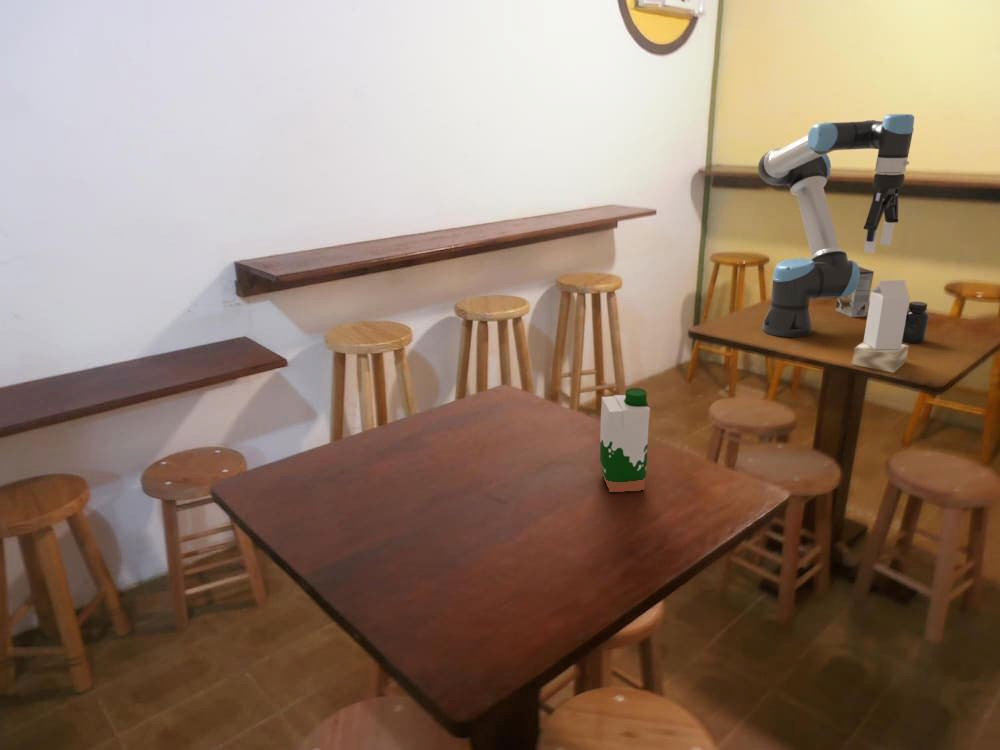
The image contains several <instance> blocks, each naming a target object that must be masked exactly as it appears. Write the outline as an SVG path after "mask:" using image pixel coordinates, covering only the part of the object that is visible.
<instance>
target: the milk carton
mask: <svg viewBox="0 0 1000 750" xmlns="http://www.w3.org/2000/svg"><path fill="white" fill-rule="evenodd" d="M906 282H907V280H906V279H900V280H899V279H895V280H893V279H891V280H879V281H878V284H877V286H876V287H875V288H873V289H872V291H870V297H869V303H868V309H867V315H866V324H865V330H864V337H863V341H864V342H865V343H866V344H868V345H869V346H871V347H872V348H874V349H875V350H881V349H901V344H903V341H902V338H903V333H904V327H905V321H906V316H907V310H909V309H908V307H909V303H910V298H911V297H910V294H909V291H908V289H907V285H906Z"/></svg>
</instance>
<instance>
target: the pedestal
mask: <svg viewBox="0 0 1000 750" xmlns="http://www.w3.org/2000/svg"><path fill="white" fill-rule="evenodd" d="M908 352H909V345H908V344H903V343H902V344H901V349H881V350H875V349H874V348H872V347H871V346H869V345H868V344H866V343H865V342H864V340H863V341H861V343H859V344H858V345H856V346H855V347H854V349H853V355H852V361H851V364H852V366H853V365H854V366H859V367H862V368H863V367H864V368H868V369H874V370H877V371H878V370H879V371H883V372H889V373H892V374H893V373H895V372H897V370H898V369H900V368H901V367H902V366H903V365H904V364H905V363H906V362H907V358H908Z"/></svg>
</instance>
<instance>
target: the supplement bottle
mask: <svg viewBox="0 0 1000 750" xmlns="http://www.w3.org/2000/svg"><path fill="white" fill-rule="evenodd" d="M927 311H928V303H927V302H923V301H909V304H908V310H907V316H906V321H905V327H904V333H903V338H902V343H903V342H904V343H907V344H913V345H917V344H923V343H924V342H925V339H926V334H927V330H928V324H929V319H930V315H929V313H928V312H927Z"/></svg>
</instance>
